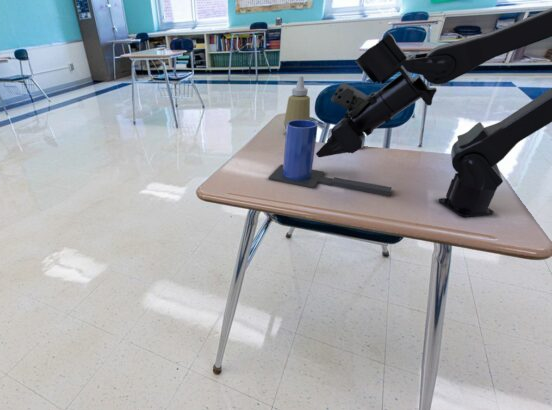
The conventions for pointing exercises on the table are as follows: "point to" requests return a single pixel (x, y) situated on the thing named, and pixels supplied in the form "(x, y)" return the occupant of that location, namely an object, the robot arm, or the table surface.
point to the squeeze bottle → (298, 103)
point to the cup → (299, 149)
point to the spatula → (330, 182)
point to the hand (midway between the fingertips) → (322, 148)
